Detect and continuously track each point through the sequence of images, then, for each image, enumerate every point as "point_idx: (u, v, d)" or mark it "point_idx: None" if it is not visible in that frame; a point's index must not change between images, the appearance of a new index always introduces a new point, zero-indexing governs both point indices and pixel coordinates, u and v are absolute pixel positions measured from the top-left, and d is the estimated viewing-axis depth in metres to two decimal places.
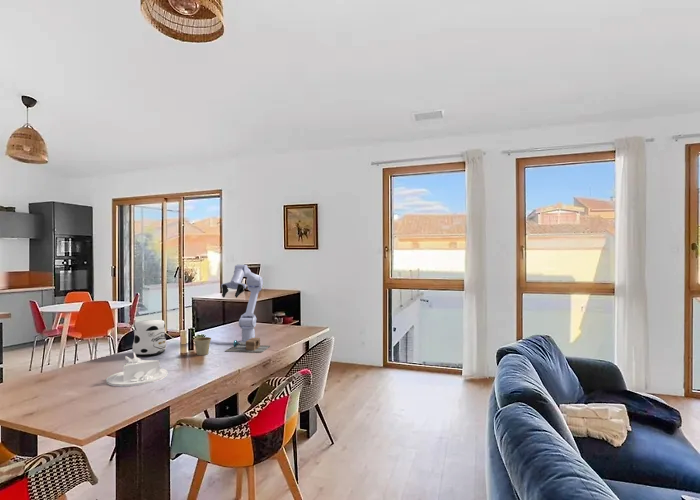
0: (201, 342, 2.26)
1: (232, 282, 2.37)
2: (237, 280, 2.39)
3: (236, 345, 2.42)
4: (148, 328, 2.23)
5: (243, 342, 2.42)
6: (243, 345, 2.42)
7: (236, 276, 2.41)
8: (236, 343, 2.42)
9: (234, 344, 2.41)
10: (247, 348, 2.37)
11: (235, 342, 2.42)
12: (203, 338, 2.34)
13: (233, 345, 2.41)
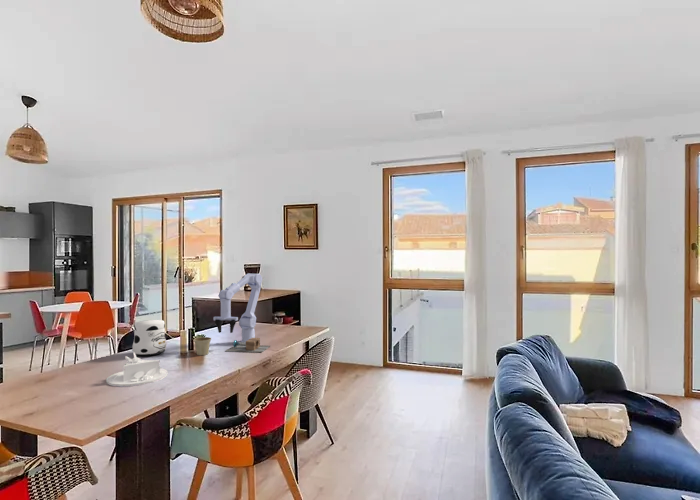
0: (201, 341, 2.26)
1: (223, 319, 2.41)
2: (227, 314, 2.42)
3: (236, 345, 2.42)
4: (148, 328, 2.23)
5: (243, 342, 2.42)
6: (243, 345, 2.42)
7: (224, 310, 2.41)
8: (236, 343, 2.42)
9: (234, 344, 2.41)
10: (247, 348, 2.37)
11: (235, 342, 2.42)
12: (203, 338, 2.34)
13: (233, 345, 2.41)
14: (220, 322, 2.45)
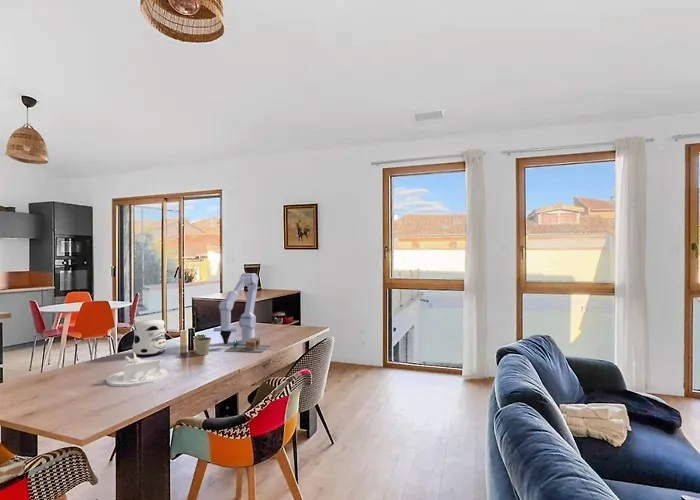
0: (201, 342, 2.26)
1: None
2: (227, 326, 2.42)
3: (236, 345, 2.42)
4: (148, 328, 2.23)
5: (243, 342, 2.42)
6: (243, 345, 2.42)
7: (224, 321, 2.41)
8: (236, 343, 2.42)
9: (234, 344, 2.41)
10: (247, 348, 2.37)
11: (235, 342, 2.42)
12: (203, 338, 2.34)
13: (233, 345, 2.41)
14: None
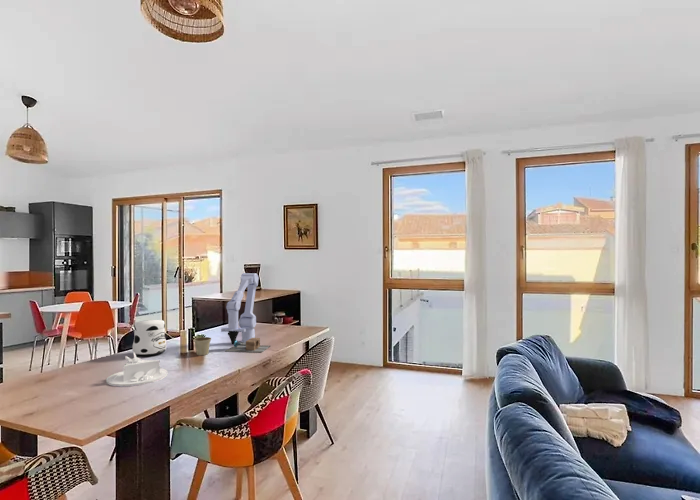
0: (201, 341, 2.26)
1: (231, 330, 2.40)
2: (235, 326, 2.41)
3: (237, 345, 2.42)
4: (148, 328, 2.23)
5: (244, 342, 2.42)
6: (244, 345, 2.42)
7: (232, 322, 2.40)
8: (237, 343, 2.42)
9: (235, 344, 2.41)
10: (247, 348, 2.37)
11: (236, 342, 2.42)
12: (203, 338, 2.34)
13: (234, 345, 2.41)
14: None
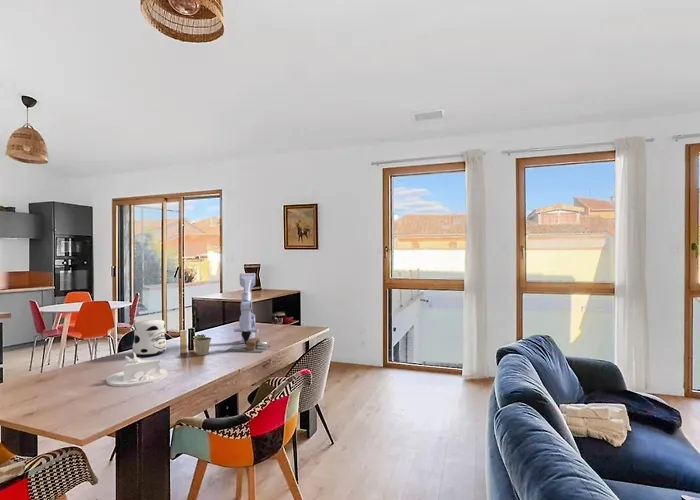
0: (201, 342, 2.26)
1: (244, 330, 2.39)
2: (248, 326, 2.40)
3: None
4: (148, 328, 2.23)
5: (256, 342, 2.41)
6: (256, 345, 2.41)
7: (245, 322, 2.39)
8: None
9: None
10: (247, 348, 2.37)
11: None
12: (203, 338, 2.34)
13: None
14: None
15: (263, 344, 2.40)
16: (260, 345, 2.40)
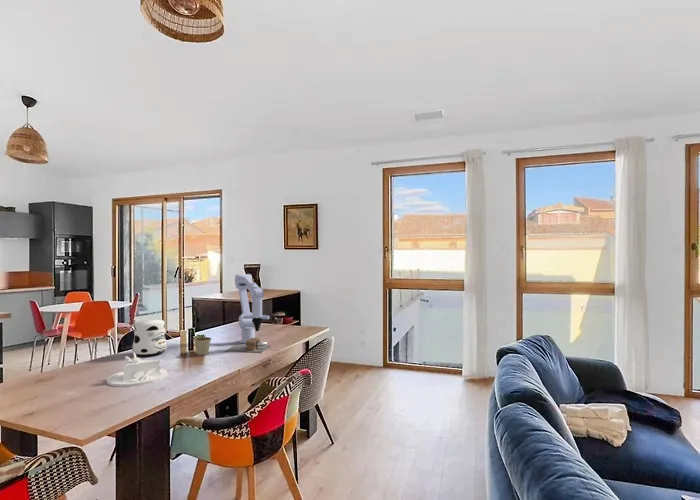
0: (201, 341, 2.26)
1: (255, 317, 2.43)
2: (259, 313, 2.44)
3: None
4: (148, 328, 2.23)
5: (256, 342, 2.41)
6: (256, 345, 2.41)
7: (256, 309, 2.43)
8: None
9: None
10: (247, 348, 2.37)
11: None
12: (203, 338, 2.34)
13: None
14: None
15: (263, 344, 2.40)
16: (260, 345, 2.40)
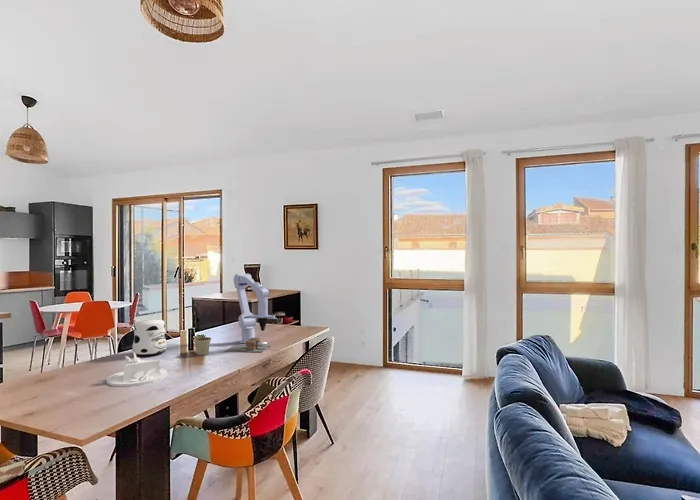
0: (201, 341, 2.26)
1: None
2: (264, 313, 2.45)
3: None
4: (148, 328, 2.23)
5: (256, 342, 2.41)
6: (256, 345, 2.41)
7: (262, 308, 2.44)
8: None
9: None
10: (247, 348, 2.37)
11: None
12: (203, 338, 2.34)
13: None
14: None
15: (263, 344, 2.40)
16: (260, 345, 2.40)
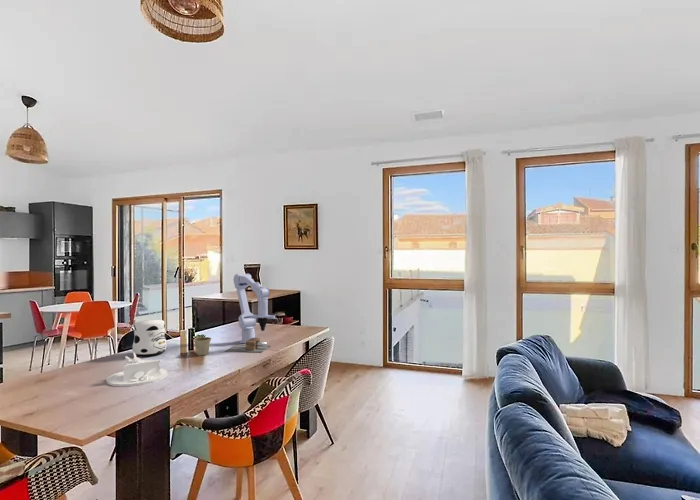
0: (201, 341, 2.26)
1: None
2: (264, 313, 2.45)
3: None
4: (148, 328, 2.23)
5: (256, 342, 2.41)
6: (256, 345, 2.41)
7: (262, 308, 2.44)
8: None
9: None
10: (247, 348, 2.37)
11: None
12: (203, 338, 2.34)
13: None
14: None
15: (263, 344, 2.40)
16: (260, 345, 2.40)
